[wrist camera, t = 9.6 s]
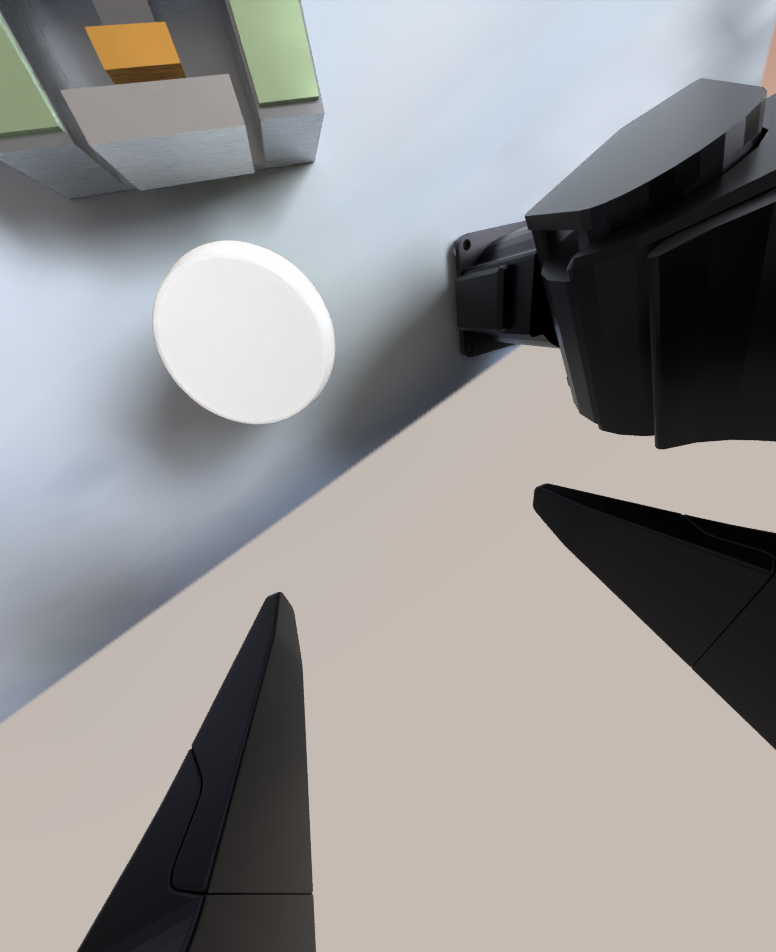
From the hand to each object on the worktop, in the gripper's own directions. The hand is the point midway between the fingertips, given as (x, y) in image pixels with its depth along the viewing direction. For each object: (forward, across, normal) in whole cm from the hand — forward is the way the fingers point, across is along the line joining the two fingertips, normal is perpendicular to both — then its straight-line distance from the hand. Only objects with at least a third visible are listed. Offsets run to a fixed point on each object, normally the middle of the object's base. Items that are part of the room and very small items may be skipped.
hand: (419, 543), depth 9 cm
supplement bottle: (+12, +3, -6) cm, 14 cm away
